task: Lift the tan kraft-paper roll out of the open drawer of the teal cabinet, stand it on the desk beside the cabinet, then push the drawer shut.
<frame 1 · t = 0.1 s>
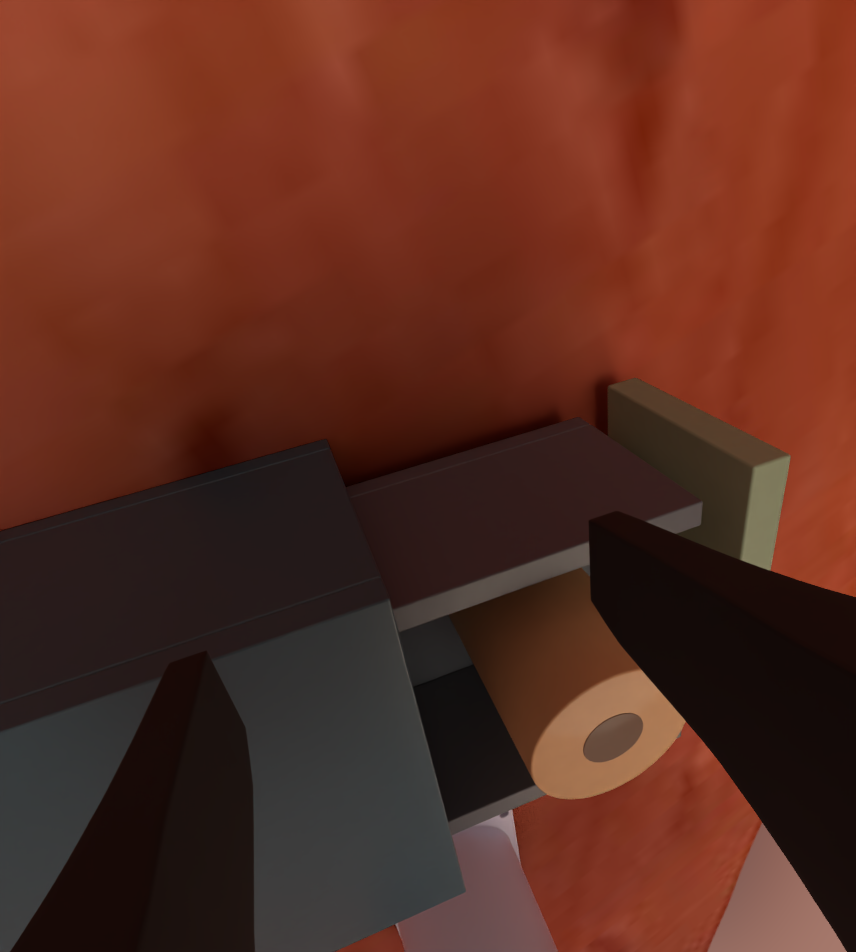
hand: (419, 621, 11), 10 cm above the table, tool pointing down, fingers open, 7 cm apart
drawer: (548, 603, 20), point 4 cm above the table, slide at 10.0 cm, touching paper roll
paper roll: (498, 572, 22), point 2 cm above the table, touching drawer
cabinet: (188, 640, 21), on the table
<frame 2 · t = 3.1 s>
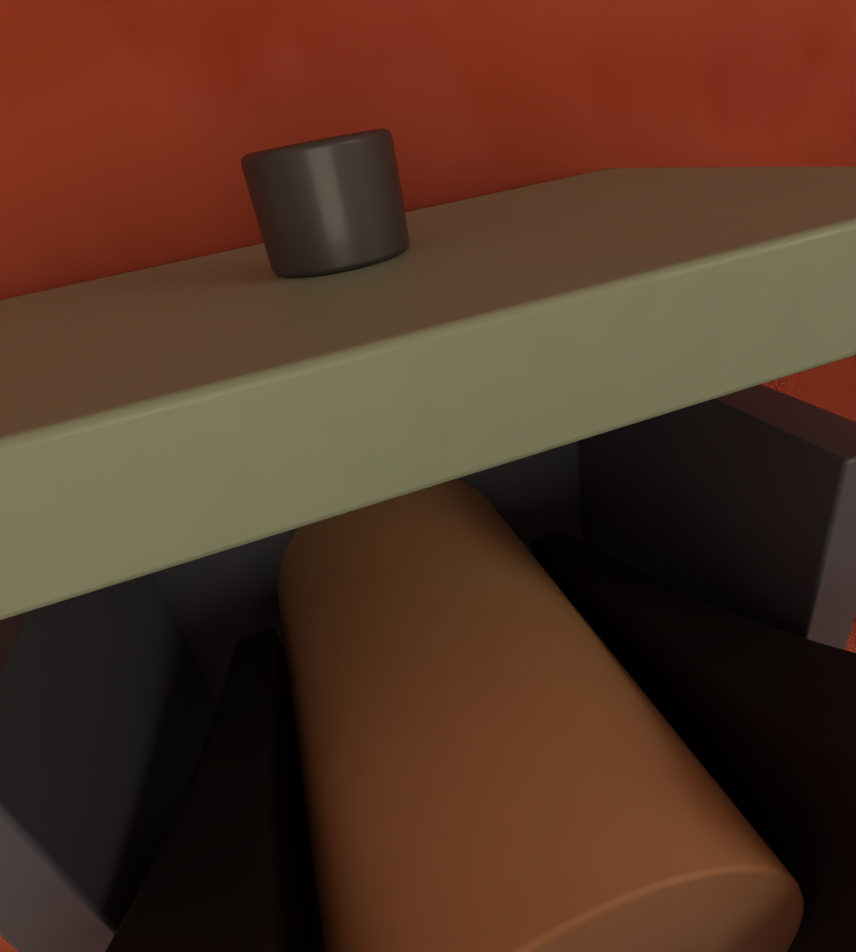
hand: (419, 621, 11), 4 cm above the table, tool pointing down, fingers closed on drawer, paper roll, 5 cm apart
drawer: (423, 617, 10), point 4 cm above the table, slide at 10.0 cm, touching gripper, paper roll
paper roll: (397, 574, 12), point 2 cm above the table, touching drawer, gripper
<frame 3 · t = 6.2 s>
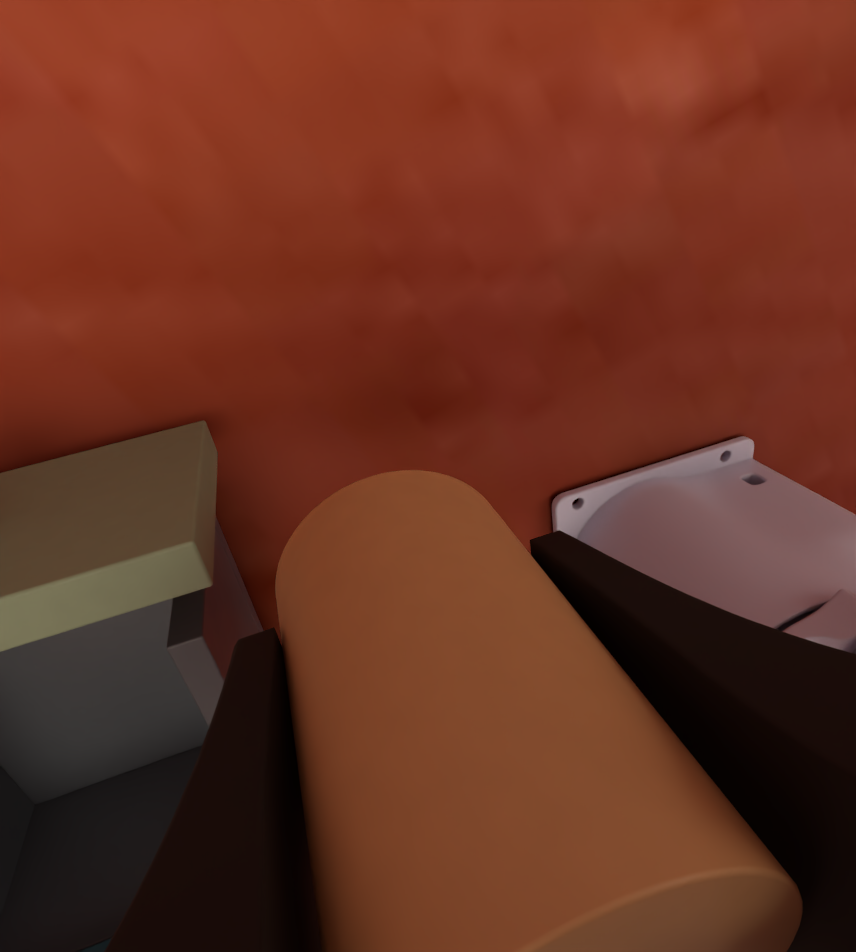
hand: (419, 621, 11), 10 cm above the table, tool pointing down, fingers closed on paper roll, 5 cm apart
drawer: (64, 698, 16), point 4 cm above the table, slide at 10.0 cm
paper roll: (395, 574, 12), point 9 cm above the table, touching gripper
when the fingers open (1 cm above the table, at t = 9.1 s): paper roll stays where it is, on the table.
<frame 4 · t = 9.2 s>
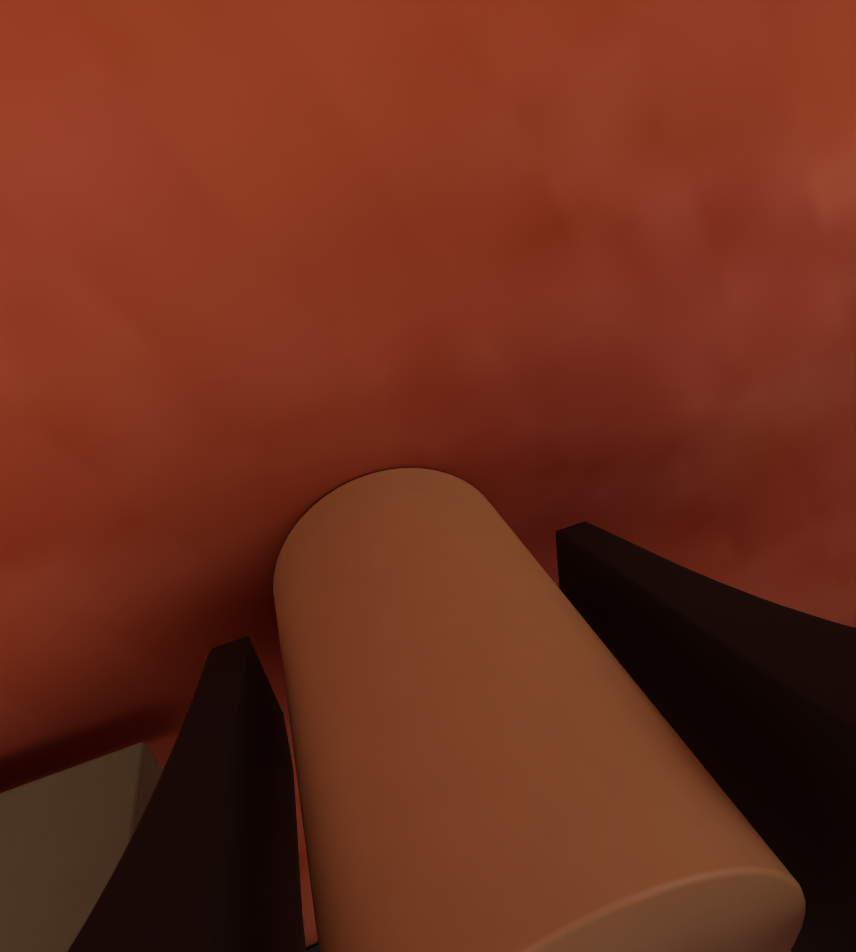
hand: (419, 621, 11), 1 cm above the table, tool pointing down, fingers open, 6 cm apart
paper roll: (394, 573, 12), on the table
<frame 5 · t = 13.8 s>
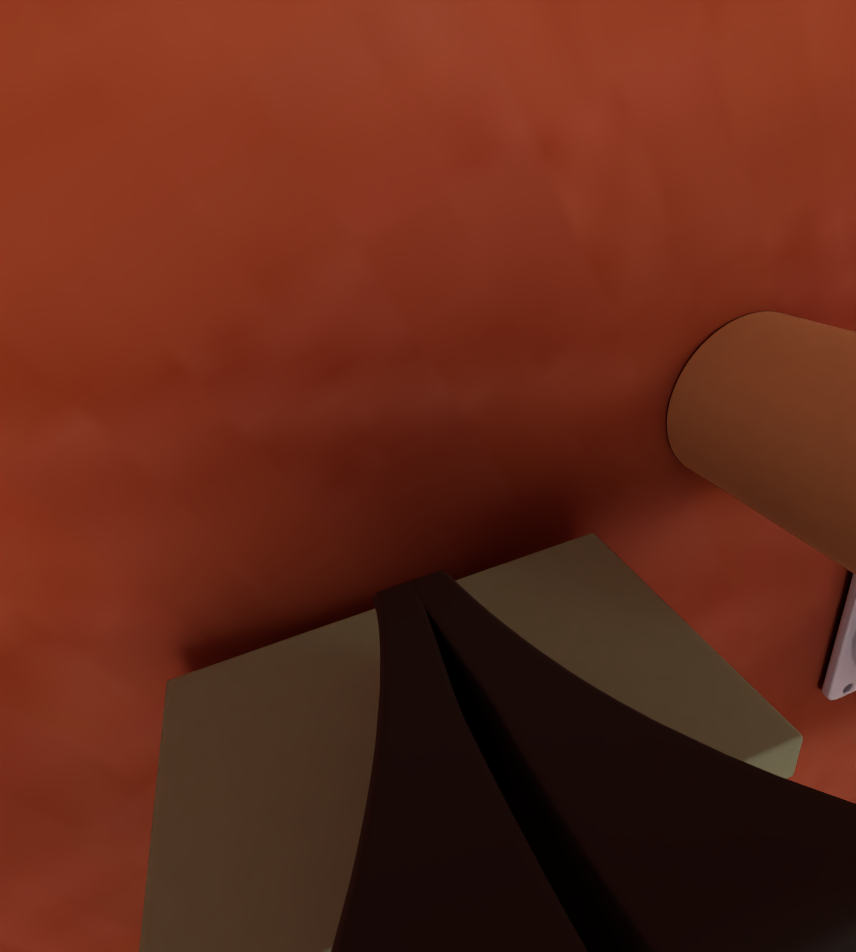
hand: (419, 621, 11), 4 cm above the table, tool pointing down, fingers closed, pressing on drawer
drawer: (471, 848, 15), point 4 cm above the table, slide at 8.9 cm, touching gripper
paper roll: (739, 397, 16), on the table
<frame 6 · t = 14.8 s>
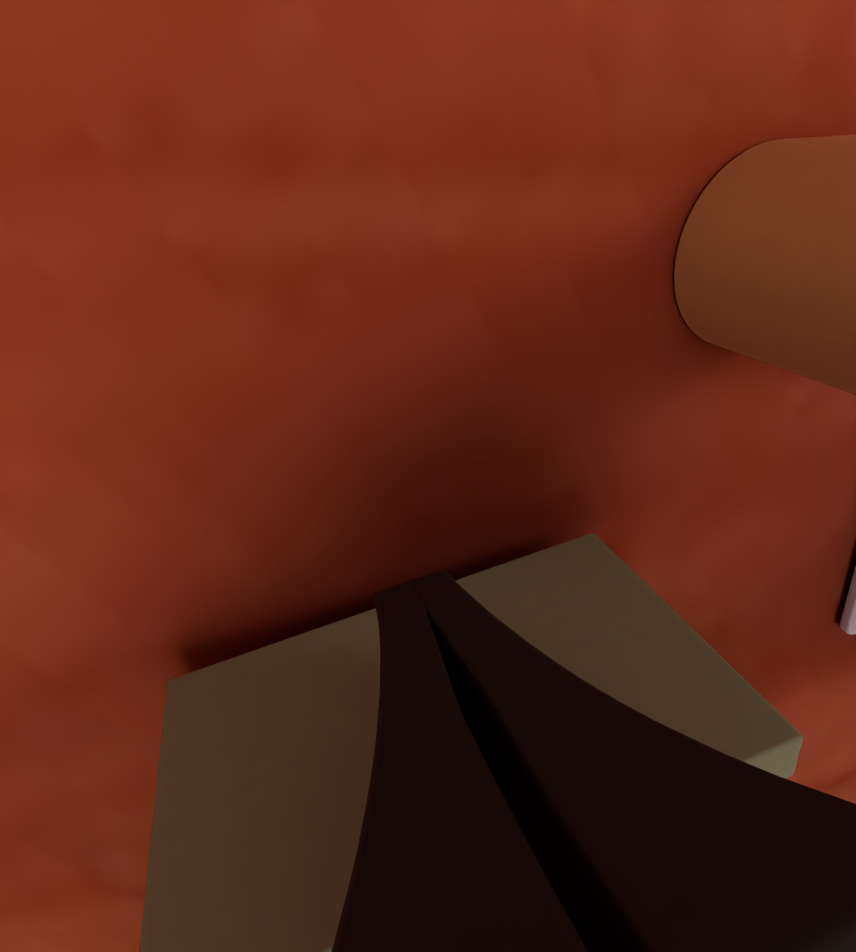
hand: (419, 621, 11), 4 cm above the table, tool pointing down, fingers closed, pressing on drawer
drawer: (471, 847, 15), point 4 cm above the table, slide at 4.9 cm, touching gripper
paper roll: (756, 250, 14), on the table
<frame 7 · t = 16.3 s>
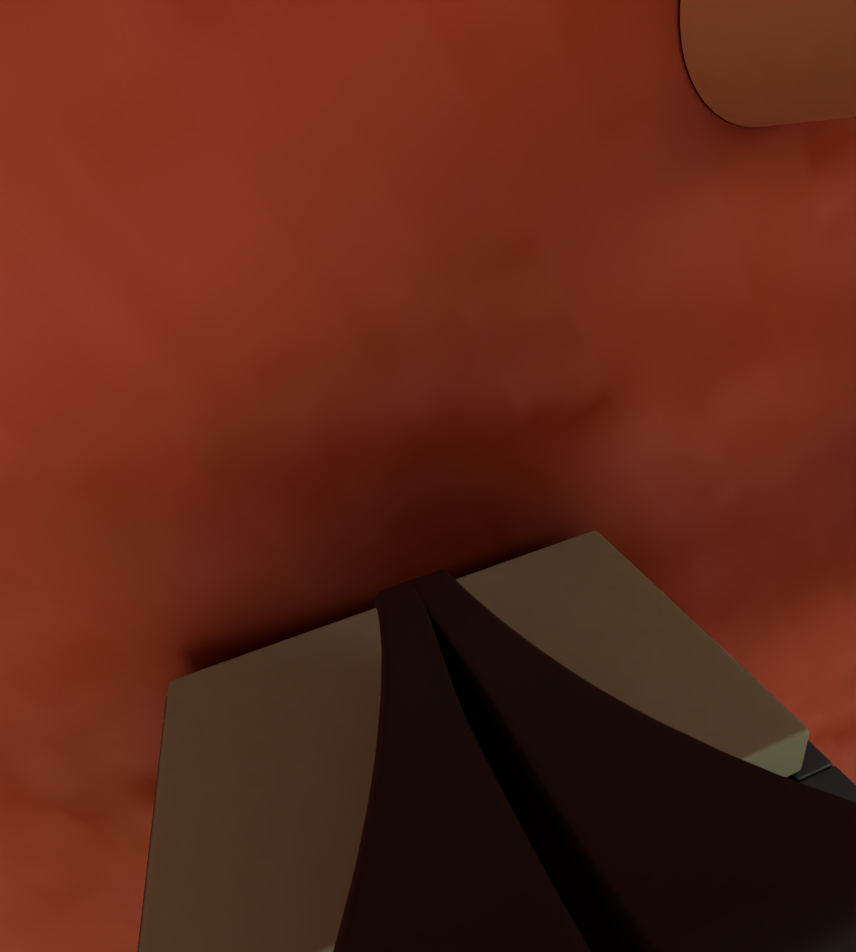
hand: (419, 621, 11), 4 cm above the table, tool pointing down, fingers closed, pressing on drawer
drawer: (476, 849, 15), point 4 cm above the table, slide at 0.0 cm, touching cabinet, gripper
cabinet: (438, 761, 19), on the table
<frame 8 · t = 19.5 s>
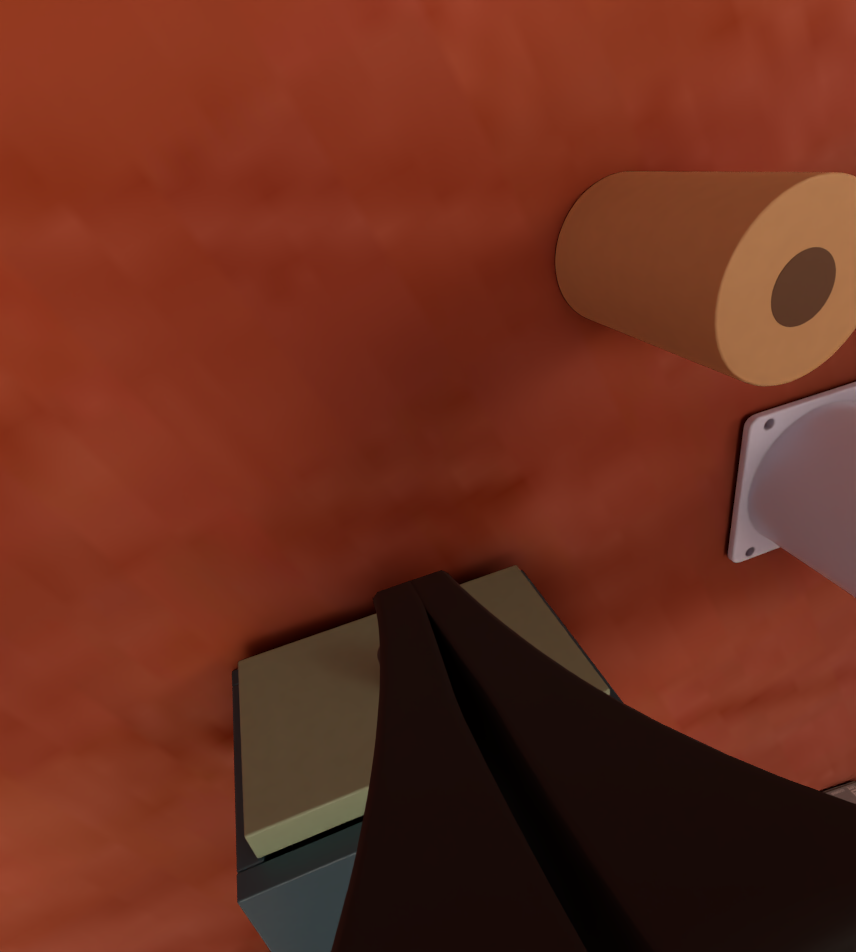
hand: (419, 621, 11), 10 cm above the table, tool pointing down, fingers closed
blue and grey package: (815, 816, 48), on the table
drawer: (433, 771, 23), point 4 cm above the table, slide at 0.0 cm
paper roll: (617, 250, 20), on the table
cabinet: (412, 721, 27), on the table
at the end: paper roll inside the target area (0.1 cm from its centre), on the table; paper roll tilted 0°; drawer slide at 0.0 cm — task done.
